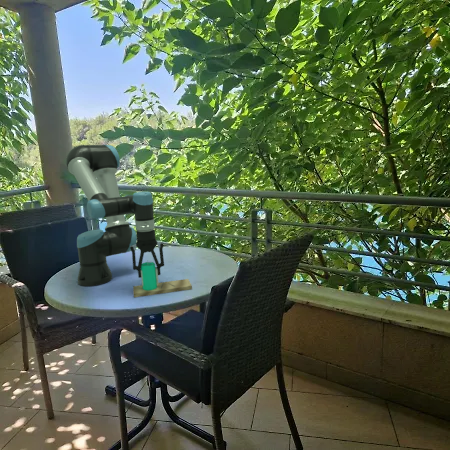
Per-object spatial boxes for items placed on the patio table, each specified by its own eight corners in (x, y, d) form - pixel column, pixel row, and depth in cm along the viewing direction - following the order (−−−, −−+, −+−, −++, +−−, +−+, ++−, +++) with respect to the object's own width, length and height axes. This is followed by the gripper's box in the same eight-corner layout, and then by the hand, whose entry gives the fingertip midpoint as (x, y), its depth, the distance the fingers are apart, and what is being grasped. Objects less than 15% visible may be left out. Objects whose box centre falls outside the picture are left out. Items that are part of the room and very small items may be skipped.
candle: (155, 290, 139) (152, 262, 137) (140, 290, 139) (138, 262, 137) (158, 284, 145) (156, 258, 143) (145, 285, 145) (142, 258, 143)
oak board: (133, 297, 137) (133, 294, 136) (133, 289, 145) (133, 286, 145) (192, 289, 143) (191, 285, 143) (188, 282, 151) (188, 278, 151)
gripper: (122, 233, 131) (127, 289, 136) (169, 229, 136) (173, 283, 141) (122, 230, 139) (127, 283, 143) (167, 226, 143) (170, 277, 148)
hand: (150, 283), depth 142 cm, fingers closed on candle, 5 cm apart
